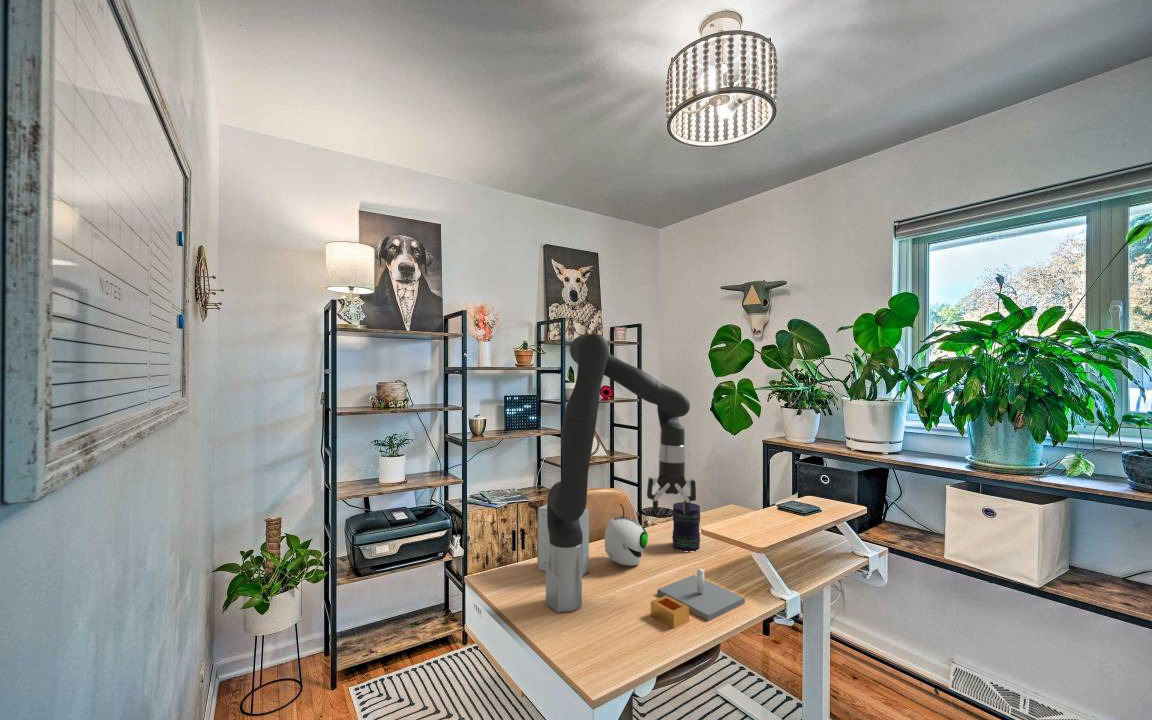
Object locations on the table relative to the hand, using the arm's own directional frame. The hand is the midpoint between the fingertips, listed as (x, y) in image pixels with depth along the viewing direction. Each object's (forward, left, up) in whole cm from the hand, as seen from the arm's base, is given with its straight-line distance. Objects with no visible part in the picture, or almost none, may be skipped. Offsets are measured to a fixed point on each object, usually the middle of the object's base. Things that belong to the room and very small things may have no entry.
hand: (670, 513), depth 145 cm
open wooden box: (-13, -12, -22) cm, 28 cm away
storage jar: (+29, +18, -22) cm, 41 cm away
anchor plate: (+2, -10, -22) cm, 24 cm away
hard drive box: (-19, +28, -22) cm, 41 cm away
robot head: (+1, +20, -22) cm, 30 cm away
